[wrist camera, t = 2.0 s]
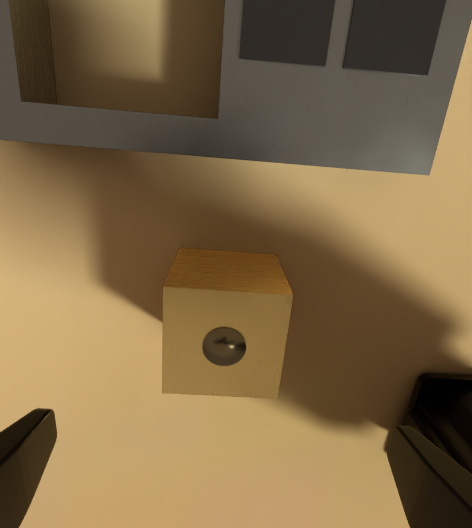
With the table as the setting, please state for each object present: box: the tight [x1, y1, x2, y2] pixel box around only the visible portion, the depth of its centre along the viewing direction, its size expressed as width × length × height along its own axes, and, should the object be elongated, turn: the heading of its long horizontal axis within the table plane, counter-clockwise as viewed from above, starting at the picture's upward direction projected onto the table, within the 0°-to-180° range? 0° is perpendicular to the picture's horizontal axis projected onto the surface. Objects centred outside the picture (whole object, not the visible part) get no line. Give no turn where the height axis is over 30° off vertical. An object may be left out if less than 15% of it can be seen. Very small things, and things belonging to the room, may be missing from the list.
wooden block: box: [162, 248, 293, 399], centre depth 14 cm, size 4×4×5 cm
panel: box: [0, 0, 472, 175], centre depth 11 cm, size 16×9×3 cm, turn 85°
